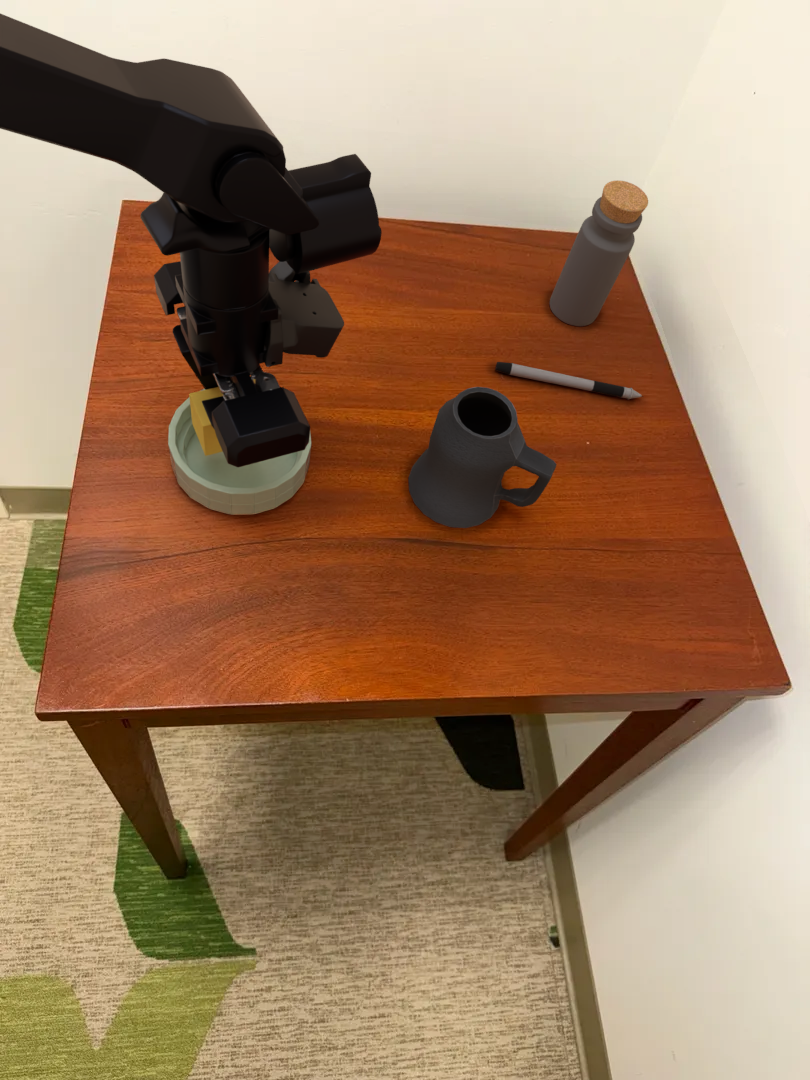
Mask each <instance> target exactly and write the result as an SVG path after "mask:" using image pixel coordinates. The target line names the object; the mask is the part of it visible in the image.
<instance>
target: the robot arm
mask: <svg viewBox="0 0 810 1080" xmlns="http://www.w3.org/2000/svg"><path fill="white" fill-rule="evenodd" d="M0 129H1V130H4V131H7V132H11V133H14V134H18V135H21V136H23V137H24V136H25V137H28V138H31V139H34V140H38V141H41V142H44V143H48V144H52V145H54V146H55V145H56V146H58V147H62V148H66V149H69V150H73V151H76V152H78V153H83V154H86V155H90V156H93V157H97V158H99V159H104V160H106V161H110V162H113V163H116V164H118V165H120V166H122V167H123V168H126V169H127V170H129V171H132V172H134V173H136V174H137V175H138V176H140V177H141V178H142V179H144V180H145V181H147V182H148V183H150V184H151V185H153V186H154V187H155V188H157V189H158V190H160V191H161V192H162V194H161V196H160V197H159V199H158V200H156V201H153V202H151V203H150V204H148V205H147V207H146V208H145V209H143V210H142V211H141V212H140V220H141V221H142V223H143V225H144V226H145V228H146V230H147V231H148V234H149V235H150V236H151V238H152V239H153V241H154V242H155V244H156V246H157V247H158V249H159V251H160V252H161V254H162V255H164V256H167V257H168V256H173V255H176V254H179V259H180V260H179V261H173V262H167V263H164V264H162V266H161V267H160V268H159V269H158V270H157V271H156V272H155V273H154V274H153V280H154V287H155V293H156V296H157V298H158V300H159V303H160V305H161V307H162V310H163V312H164V315H165V316H171V315H176V314H177V316H178V319H179V323H180V324H177V325H175V326H174V327H173V328H172V334H173V337H174V340H175V342H176V344H177V346H178V349H179V351H180V353H181V355H182V357H183V358H184V360H185V361H186V363H187V364H188V366H189V367H190V369H191V370H192V372H193V374H194V375H195V376H196V378H197V379H198V381H199V382H200V384H201V386H202V387H203V389H204V388H205V390H207V389H211V388H216V387H219V389H220V391H221V393H222V394H223V396H221V397H216V398H212V399H208V400H203V401H202V404H203V406H204V409H205V411H206V413H207V416H208V418H209V420H210V423H211V425H212V427H213V428H214V430H215V433H216V436H217V439H218V441H219V444H220V446H221V448H222V451H223V453H224V456H225V458H226V460H227V463H228V464H230V465H233V466H235V467H242V466H246V465H250V464H253V463H257V462H261V461H265V460H268V459H272V458H276V457H280V456H283V455H287V454H291V453H295V452H298V451H302V450H305V448H306V446H307V445H308V443H309V436H310V433H311V424H310V423H309V421H308V419H307V417H306V415H305V413H304V410H303V408H302V406H301V405H300V403H299V400H298V398H297V396H296V394H295V392H294V391H292V390H289V389H287V388H285V387H284V386H280V383H279V382H278V379H277V378H276V376H275V374H273V373H271V372H267V371H266V372H265V371H264V370H263V369H262V366H261V364H264V365H265V367H267V368H270V367H274V366H278V365H279V366H280V365H283V362H284V361H283V357H284V353H285V354H287V355H301V356H315V357H316V358H323V359H324V358H326V357H328V356H329V354H330V353H331V350H332V349H333V347H334V345H335V343H336V341H337V339H338V337H339V336H340V335H341V332H342V330H343V328H344V327H345V319H344V318H343V316H342V314H341V313H340V311H339V309H338V307H337V306H336V304H335V302H334V300H333V298H332V297H331V295H330V293H329V292H328V291H327V289H326V288H324V287H322V286H321V284H320V282H319V280H318V279H317V278H311V272H312V271H315V270H320V269H323V268H327V267H329V266H334V265H338V264H341V263H345V262H348V261H352V260H356V259H359V258H363V257H367V256H370V255H373V254H374V253H377V252H376V251H377V250H378V248H380V247H379V246H380V243H381V240H382V234H383V233H382V227H381V226H380V220H379V213H378V208H377V203H376V199H375V197H374V194H373V192H372V189H371V186H370V185H371V179H372V178H371V177H372V172H371V170H370V169H369V168H368V167H367V166H366V164H365V163H364V162H363V160H361V158H360V157H359V156H358V155H357V153H353V154H348V155H343V156H339V157H337V158H335V159H333V160H331V161H327V162H323V163H317V164H313V165H307V166H303V167H299V168H293V169H288V168H287V167H286V166H287V164H286V162H287V157H286V154H285V150H284V145H283V144H282V142H281V141H280V140H279V138H278V137H277V136H276V135H275V133H274V132H273V131H272V129H271V128H270V127H269V125H268V124H267V123H266V121H265V120H264V119H263V118H262V116H261V115H260V114H259V112H258V111H257V109H256V108H255V107H254V105H253V104H252V103H251V102H250V100H249V99H248V98H247V97H246V95H245V94H244V92H243V91H242V90H241V88H240V87H239V86H238V85H237V84H236V82H235V81H234V80H233V79H232V77H230V76H229V75H227V74H226V73H224V72H223V71H221V70H218V69H215V68H211V67H206V66H203V65H198V64H193V63H189V62H185V61H184V62H183V61H179V60H173V59H169V58H158V59H151V60H145V61H138V62H135V61H129V60H125V59H119V58H115V57H111V56H109V55H106V54H103V53H102V52H101V53H100V52H98V51H96V50H93V49H91V48H88V47H86V46H83V45H82V44H78V43H75V42H73V41H71V40H68V39H66V38H64V37H60V36H58V35H55V34H53V33H51V32H48V31H45V30H43V29H40V28H38V27H35V26H33V25H31V24H28V23H26V22H23V21H20V20H18V19H15V18H13V17H10V16H7V15H6V14H3V13H0ZM270 252H271V254H272V255H273V257H274V258H275V259H276V260H277V261H278V262H277V263H276V264H275V265H274V266H273V267H272V268H271V269H270ZM180 304H183V305H184V306H179V307H177V308H176V310H175V306H176V305H180ZM253 379H255V383H254V381H253Z"/></svg>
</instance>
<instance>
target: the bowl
mask: <svg viewBox="0 0 810 1080" xmlns="http://www.w3.org/2000/svg"><path fill="white" fill-rule="evenodd" d="M202 390H205V388H204V387H203V388H202V389H200V391H202ZM311 435H312V434H311V432H310V436H309V443H308V445H307V446H306V448H305V450H302V451H298V452H295V453H291V454H287V455H283V456H280V457H276V458H272V459H268V460H265V461H261V462H257V463H253V464H250V465H246V466H242V467H235V466H233V465H230V464H228V463H227V460H226V458H225V456H224V453H223V452H219V453H215V454H211V455H207V456H205V454H204V451H203V449H202V446H201V444H200V441H199V439H198V437H197V434H196V432H195V429H194V427H193V424H192V416H191V407H190V398H189V397H187V398H186V399H185V400H184V401H183V402H182V403H181V404H180V405H179V406H178V407H177V408H176V410H175V412H174V413H173V415H172V418H171V420H170V423H169V424H168V435H167V446H168V452H169V453H168V454H169V458H170V464H171V469H172V471H173V474H174V477H175V480H176V482H177V484H178V486H179V487H180V488H181V489H182V490H183V491H184V492H185V493H186V495H188V497H189V498H190V499H192V500H193V501H195V502H196V503H199V504H200V505H202V506H203V507H205V508H207V509H210V510H212V511H216V512H219V513H224V514H227V515H232V516H234V515H237V516H238V515H239V516H240V515H257V514H260V513H264V512H267V511H270V510H274V509H276V508H278V507H280V506H281V505H283V504H284V503H286V502H287V501H289V500H290V499H292V498H293V497H294V496H295V494H296V493H297V491H298V490H300V488H301V487H302V485H303V484H304V483H305V480H306V477H307V474H308V472H309V468H310V463H311V461H310V460H311V451H312V436H311Z"/></svg>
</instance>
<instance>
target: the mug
mask: <svg viewBox="0 0 810 1080" xmlns="http://www.w3.org/2000/svg"><path fill="white" fill-rule="evenodd" d="M517 413H518V412H517V409H516V408H515V406H514V404H513V403H512V401H511V400H510V399H509V398H508V397H507V396H506V395H505V394H503V393H501V392H499V391H498V390H496V389H493V388H490V387H487V386H486V387H485V386H474V387H469V388H466V389H465V390H462V391H460V392H459V393H457V395H456V396H455V397H453V398H451V399H449V400H447V401H446V402H444V404H443V405H442V406H441V407H440V408H439V410H438V413H437V415H436V417H435V422H434V424H433V428H432V431H431V434H430V437H429V442H428V447H427V448H426V449H425V450H424V452H423V453H422V454H421V455H420V456H419V457H418V458H417V460H416V461H415V462H414V464H413V465H412V467H411V469H410V473H409V475H408V479H407V480H408V491H409V494H410V496H411V499H412V501H413V503H414V504H415V506H416V507H417V508H418V509H419V510H420V512H421V513H422V515H425V516H426V517H428V518H429V519H430V520H432V521H434V522H435V523H438V524H439V525H443V526H446V527H449V528H457V529H458V528H459V529H461V528H462V529H467V528H472V527H476V526H480V525H482V524H483V523H484V522H486V521H488V520H490V519H491V518H492V517H493V515H494V514H495V513H496V512H497V510H498V509H499V506H500V502H501V501H502V500H503V501H505V502H508V503H510V504H512V505H515V506H517V507H520V508H524V507H528V506H532V505H534V504H535V503H536V502H537V501H538V499H539V497H540V496H541V495H542V494H543V492H544V491H545V489H546V488H547V486H548V484H549V483H550V481H551V480H552V477H553V474H554V472H555V470H556V468H557V463H556V461H554V459H552V458H550V457H548V456H547V455H546V454H544V453H543V452H540V451H539V450H536V449H533V448H532V447H530V446H528V445H527V442H526V439H525V437H524V434H523V432H522V429H521V426H520V424H519V420H518V414H517ZM513 467H517V468H519V469H522V470H525V471H527V472H529V473H531V474H533V475H536V476H537V477H538V478H537V479H536V480H535V482H534V484H533V485H531V486H529V487H514V488H509V489H507V488H504V487H503V483H502V481H503V478H504V476H505V473H506V472H507V471H508V470H510V469H511V468H513Z"/></svg>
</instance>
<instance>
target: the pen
mask: <svg viewBox="0 0 810 1080" xmlns="http://www.w3.org/2000/svg"><path fill="white" fill-rule="evenodd" d="M494 370H495V371H496V372H499V373H503V374H506V375H509V376H514V377H519V378H525V379H531V380H534V381H539V382H544V383H549V384H553V385H560V386H563V387H569V388H575V389H580V390H583V391H590V392H592V393H593V392H594V393H598V394H601V395H603V394H604V395H607V396H611V397H617V398H621V399H622V398H623V399H627V401H628V400H630V399H631V400H632V399H637V398H641V397H643V398H644V396H643V395H642V394H641V393H639V392H638V391H636V390H635V389H633V387H626V386H622V385H618V384H612V383H608V382H602V381H598V380H591V379H588V378H583V377H577V376H574V375H569V374H564V373H559V372H555V371H550V370H546V369H540V368H536V367H532V366H526V365H522V364H517V363H513V362H505V361H497V362H496V363H495V368H494Z"/></svg>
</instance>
